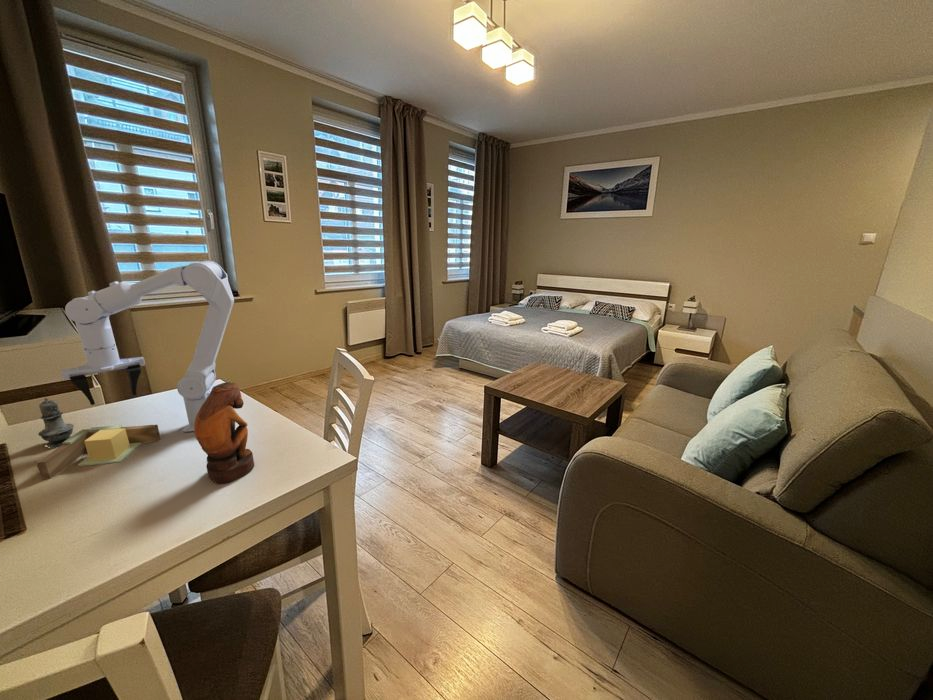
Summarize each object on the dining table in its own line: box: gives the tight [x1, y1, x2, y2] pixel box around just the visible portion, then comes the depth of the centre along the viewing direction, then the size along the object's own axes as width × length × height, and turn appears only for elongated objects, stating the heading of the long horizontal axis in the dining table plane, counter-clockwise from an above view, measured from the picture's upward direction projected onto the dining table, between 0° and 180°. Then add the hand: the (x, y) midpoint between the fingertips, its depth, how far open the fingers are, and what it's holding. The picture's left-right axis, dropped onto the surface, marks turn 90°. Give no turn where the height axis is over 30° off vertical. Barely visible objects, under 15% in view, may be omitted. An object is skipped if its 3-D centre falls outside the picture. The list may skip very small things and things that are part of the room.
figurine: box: [193, 381, 255, 484], centre depth 79 cm, size 9×10×20 cm
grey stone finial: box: [37, 397, 75, 449], centre depth 88 cm, size 6×6×12 cm
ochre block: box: [84, 428, 130, 461], centre depth 85 cm, size 5×5×5 cm
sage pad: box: [77, 443, 143, 467], centre depth 86 cm, size 8×8×1 cm
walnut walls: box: [35, 424, 162, 480], centre depth 84 cm, size 15×14×4 cm
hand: (114, 398), depth 92 cm, fingers open, 7 cm apart
